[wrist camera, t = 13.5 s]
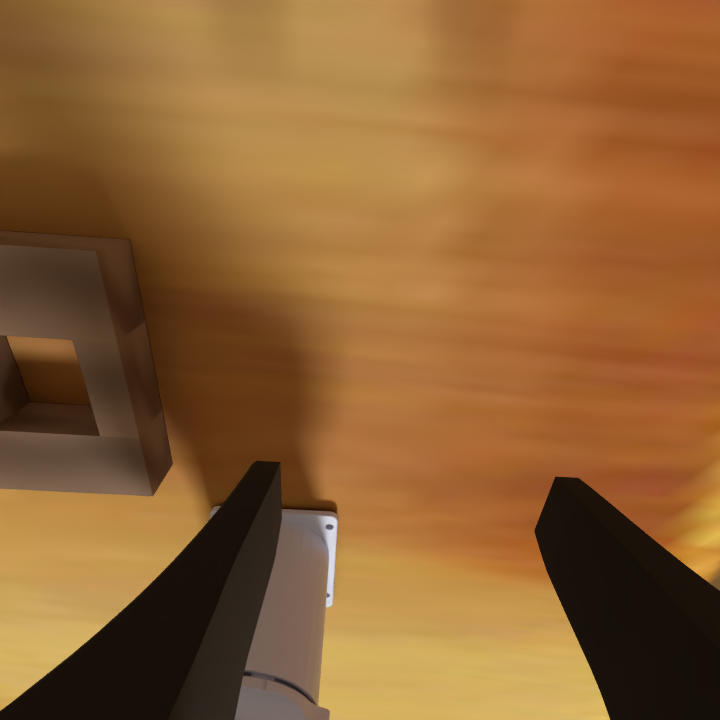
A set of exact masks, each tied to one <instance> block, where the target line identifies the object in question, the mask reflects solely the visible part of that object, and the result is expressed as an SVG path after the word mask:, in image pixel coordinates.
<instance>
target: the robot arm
mask: <svg viewBox="0 0 720 720" xmlns="http://www.w3.org/2000/svg"><path fill="white" fill-rule="evenodd" d="M328 524H331V525H328ZM337 525H338V515H337V514H336V513H334V512H331V511H312V510H292V509H282V504H281V472H280V462H268V461H256V462H254V463H253V464H252V465H251V467H250V468H249V470H248V471H247V473H246V474H245V475H244V477H243V478H242V480H241V481H240V482H239V484H238V485H237V486H236V488H235V489H234V490H233V492H232V493H231V494H230V495H229V497H228V498H227V499H226V501H225V502H224V503H223V504H222V506H215V507H213V508H212V509H211V512H210V520H209V521H208V523H207V524H206V525H205V526H204V527H203V529H202V530H201V531H200V532H199V533H198V534H197V535H196V536H195V538H194V539H193V540H192V541H191V542H190V543H189V544H188V545H187V546H186V547H185V549H184V550H183V551H182V552H181V553H180V554H179V555H178V556H177V557H176V558H175V559H174V561H173V562H172V563H171V564H170V565H169V566H168V567H167V568H166V569H165V570H164V571H163V572H162V573H161V574H160V575H159V576H158V577H157V578H156V579H155V580H154V581H153V582H152V583H151V584H150V585H149V586H148V587H147V588H146V589H145V590H144V591H143V592H142V593H141V594H139V595H138V596H137V597H136V598H135V599H134V600H133V601H132V602H131V603H130V604H129V605H128V606H127V607H126V608H125V609H123V610H122V611H121V612H120V613H119V614H118V615H117V616H116V617H114V618H113V619H112V620H111V621H110V622H109V623H108V624H107V625H106V626H104V627H103V628H102V629H101V630H100V631H99V632H98V633H97V634H95V635H94V636H93V637H92V638H91V639H90V640H88V641H87V642H86V643H85V644H84V645H83V646H81V647H80V648H79V649H78V650H77V651H75V652H74V653H73V654H72V655H71V656H69V657H68V658H67V659H66V660H64V661H63V662H62V663H61V664H59V665H58V666H57V667H56V668H54V669H53V670H52V671H51V672H49V673H48V674H47V675H46V676H44V677H43V678H42V679H40V680H39V681H38V682H37V683H35V684H34V685H33V686H32V687H30V688H29V689H28V690H27V691H25V692H24V693H23V694H22V695H20V696H19V697H18V698H17V699H15V700H14V701H13V702H12V703H10V704H9V705H8V706H6V707H5V708H4V709H2V710H1V711H0V720H329V715H330V711H329V710H328V709H325V708H322V707H319V706H318V700H319V687H320V674H321V661H322V648H323V635H324V622H325V609H326V607H330V606H332V604H333V592H334V575H335V558H336V542H337ZM535 535H536V538H537V542H538V545H539V548H540V552H541V555H542V558H543V561H544V564H545V567H546V570H547V572H548V575H549V577H550V579H551V582H552V584H553V586H554V588H555V591H556V593H557V595H558V597H559V600H560V602H561V604H562V606H563V609H564V611H565V613H566V615H567V617H568V620H569V622H570V624H571V626H572V628H573V630H574V633H575V635H576V637H577V639H578V641H579V644H580V646H581V648H582V650H583V652H584V655H585V657H586V659H587V661H588V663H589V666H590V668H591V670H592V673H593V675H594V677H595V680H596V682H597V685H598V687H599V689H600V692H601V695H602V697H603V700H604V703H605V706H606V709H607V711H608V714H609V717H610V720H720V591H719V590H718V589H716V588H715V587H714V586H712V585H711V584H710V583H708V582H707V581H706V580H704V579H703V578H702V577H700V576H699V575H698V574H696V573H695V572H694V571H693V570H691V569H690V568H689V567H687V566H686V565H685V564H683V563H682V562H681V561H680V560H678V559H677V558H676V557H675V556H673V555H672V554H671V553H670V552H668V551H667V550H666V549H665V548H663V547H662V546H661V545H660V544H658V543H657V542H656V541H655V540H653V539H652V538H651V537H650V536H649V535H647V534H646V533H645V532H644V531H643V530H641V529H640V528H639V527H638V526H636V525H635V524H634V523H633V522H632V521H630V520H629V519H628V518H627V517H626V516H624V515H623V514H622V513H621V512H620V511H619V510H617V509H616V508H615V507H614V506H613V505H611V504H610V503H609V502H608V501H607V500H605V499H604V498H603V497H602V496H600V495H599V494H598V493H597V492H596V491H594V490H593V489H592V488H591V487H589V486H588V485H587V484H586V483H584V482H583V481H582V480H580V479H579V478H570V477H555V479H554V482H553V484H552V487H551V489H550V492H549V495H548V497H547V500H546V502H545V505H544V507H543V510H542V513H541V515H540V518H539V520H538V523H537V525H536V528H535Z"/></svg>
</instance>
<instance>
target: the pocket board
mask: <svg viewBox="0 0 720 720" xmlns="http://www.w3.org/2000/svg"><path fill="white" fill-rule="evenodd" d="M6 336H19V337H36V338H52V339H68V340H73V344H74V347H75V351H76V354H77V358H78V361H79V365H80V368H81V371H82V375H83V378H84V382H85V385H86V389H87V392H88V396H89V399H90V403H91V406H89V405H71V404H54V403H36V402H30V401H29V398H28V395H27V393H26V390H25V387H24V385H23V382H22V379H21V376H20V374H19V371H18V368H17V366H16V363H15V360H14V358H13V355H12V352H11V349H10V347H9V344H8V341H7V339H6ZM172 464H173V463H172V458H171V453H170V448H169V443H168V437H167V432H166V427H165V422H164V417H163V411H162V406H161V401H160V396H159V391H158V385H157V380H156V375H155V370H154V365H153V359H152V354H151V349H150V344H149V339H148V333H147V328H146V323H145V318H144V313H143V307H142V302H141V297H140V292H139V287H138V281H137V276H136V271H135V266H134V261H133V255H132V250H131V245H130V240H129V239H115V238H100V237H86V236H71V235H57V234H42V233H28V232H13V231H0V489H18V490H38V491H58V492H78V493H98V494H118V495H138V496H153V495H154V494H155V492H156V490H157V489H158V487H159V485H160V484H161V482H162V481H163V479H164V477H165V476H166V474H167V473H168V471H169V469H170V468H171V466H172Z"/></svg>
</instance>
